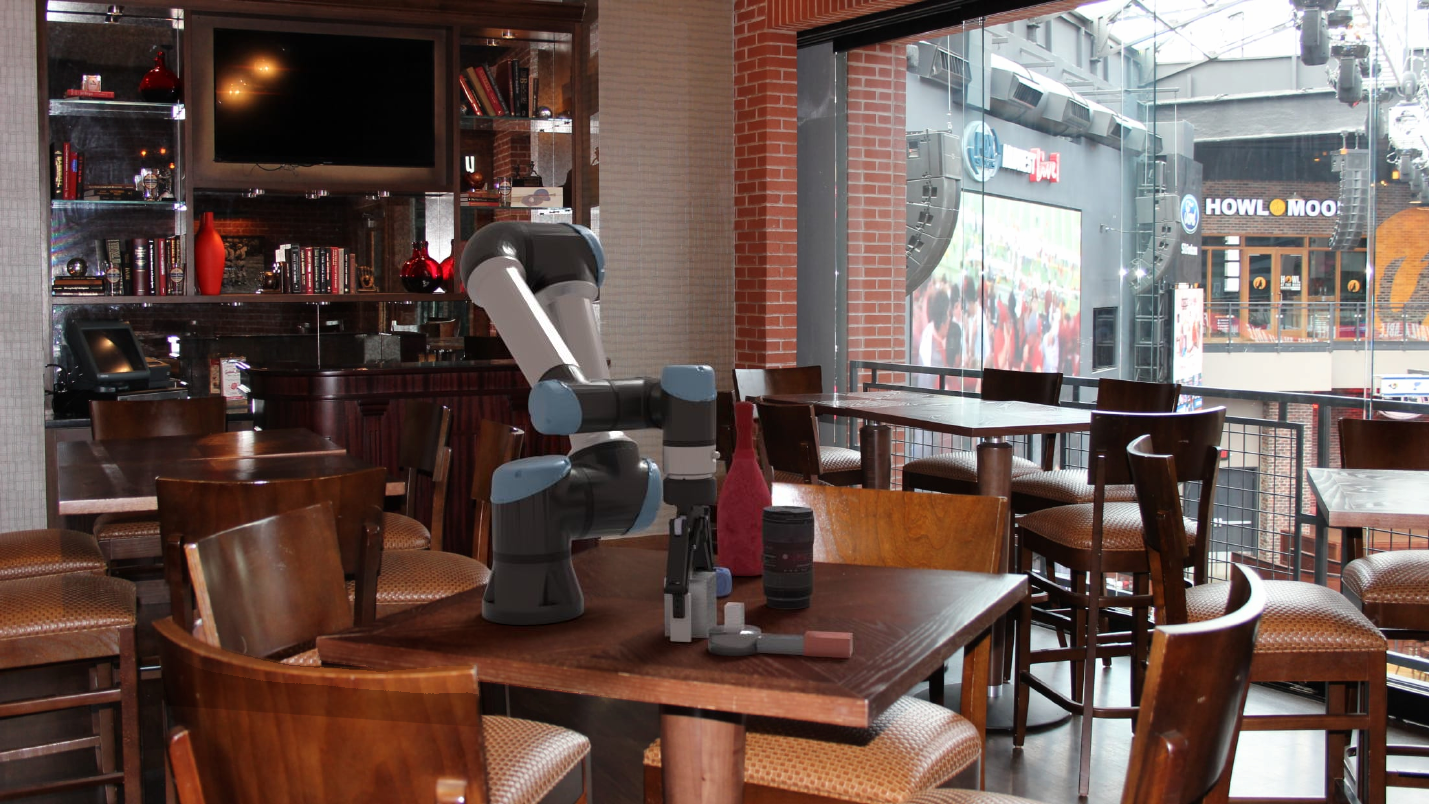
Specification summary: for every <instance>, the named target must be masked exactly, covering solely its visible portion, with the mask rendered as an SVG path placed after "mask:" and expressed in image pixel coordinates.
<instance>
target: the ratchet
mask: <svg viewBox="0 0 1429 804" xmlns="http://www.w3.org/2000/svg"><path fill="white" fill-rule="evenodd" d="M853 635H854V634H853V632H840V631H839V632H837V631H819V630H818V631H817V630H816V631H815V630H807V631H806V632H805V634H787V633H767V632H766V633H765V632H762V629H761V628H760V627H758V626H755V625H750V624H745V603H744V602H729V601H728V602H727V603H726V604H725V605H724V624H721V625H720V624H719V625H717V626H715V627H712V628H710V629H709V630H708V637H707V639H708V646H707V647H708V652H709V653H712V654H714V655H719V656H725V655H727V656H728V657H740V656H741V657H742V656H750V655H754V654H757V653H759V654H774V655H775V654H777V655H778V654H780V655H797V656H798V655H800V656H805V657H817V658H818V657H820V658H822V657H823V658H839V659H840V658H842V659H843V658H844V659H850V658H851V657H852V654H853V653H854V650H853V649H854V645H853V644H854V640H853V638H854V637H853Z"/></svg>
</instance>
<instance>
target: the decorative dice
mask: <svg viewBox="0 0 1429 804" xmlns="http://www.w3.org/2000/svg"><path fill="white" fill-rule="evenodd" d="M714 568H716V597H725V596H729V595H730V593H731V592H732V587H733V583H732V582H733V581H732V575H731V573H730V571H729V569H727V568H721V567H719V566H718V567H715V566H714Z"/></svg>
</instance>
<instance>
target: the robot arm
mask: <svg viewBox="0 0 1429 804" xmlns="http://www.w3.org/2000/svg"><path fill="white" fill-rule="evenodd" d="M605 259H606V258H605V253H604V249H603V247H602V245H601V241H600V239H599V238H598V236H597V235H596V234H595V233H594V232H593V231H592V230H591V229H590V228H588V227H586V226H584V225H581V224H573V223H569V222H564V221H562V222H556V223H555V222H553V223H552V222H535V221H534V222H532V221H514V220H499V221H495V222H494V221H493V222H491V223H489V224H486V225H485V226H483V227H481V228H480V229H479V230H477V231H476V232H475V233H473V235H472V236H470V238H469V240H468V241H467V242H466V243H465V246H464V249H463V251H462V252H461V257H460V261H459V274H460V279H461V283H462V285H463V286H462V287H464V289H465V292H466V294H467V295H468V297H469V298H470V300H471V301H472V302H473V303H474V304H475V305H476V306H478V307H480V308H483V309H484V310H485V313H486V314H487V315H488V318H489V319H490V320H491V322H492V324H493V326H494V328H495V329H496V331H497V332H498V334H499V335H500V338H501V339H502V340H503V342H504V344H505V346H506V347H507V349H508V351H509V353H510V354H511V356H512V357H513V359H514V361H515V363H516V364H517V366H518V367H519V369H520V371H521V373H522V374H523V375H524V377H525V380H527V383H528V384H529V386H530V387H531V390H530V392H529V396H528V403H527V405H528V413H529V414H530V421H531V423H532V426H533V427H534V429H535V430H536V431H537V432H538V433H541V434H543V435H560V436H569V440H570V445H571V449H570V450H569V452H568V454H567V455H563V454H562V455H561V454H547V455H541V456H538V455H537V456H532V457H531V456H530V457H526V458H519V459H516V460H512V461H509V462H506V463H503V464H501V465H500V466H498V467H497V468H496V469H495V470H494V472H493V474H492V478H491V492H490V493H491V494H490V501H491V527H492V528H491V531H492V532H491V533H492V567H491V571H490V573H489V577H488V581H487V584H486V587H485V591H484V595H483V596H482V600H481V614H482V615H481V616H482V618H483V619H485V620H486V621H489V622H492V623H497V624H502V625H504V624H505V625H512V626H513V625H518V626H527V625H528V626H530V625H545V624H554V623H561V622H564V621H565V622H566V621H569V620H573V619H577V618H578V617H580V616H581V615H582V614H584V611H585V604H584V603H585V602H584V595H583V592H582V589H581V586H580V584H579V580H578V577H577V575H576V571H575V569H574V566H573V561H572V541H576V540H585V539H592V538H593V539H594V538H604V537H613V536H620V537H621V536H622V537H623V536H627V535H628V534H634V533H641V532H644V531H645V530H647V529H649V527H651V526H652V524H654V522H655V520H656V518H657V517H658V515H659V512H660V508H661V504H662V500H663V503H664V504H665V505H668V506H675V507H676V515H675V517H674V518H670V519H669V521H668V529H669V530H668V531H669V532H668V535H669V537H668V548H667V560H666V572H665V573H666V575H665V578H666V585H665V588H664V587H663V589H662V591H663V594H670V632H671V636H670V641H671V642H685V643H690V642H692V637H691V593H688V592H689V582H690V575H691V571H699V572H716V568H714V567H715V559H714V550H713V538H712V530H711V529H712V528H711V518H710V517H711V515H710V514H711V508H710V506H709V505H713V504H715V503H716V502H717V500H718V498H717V497H718V494H717V493H718V492H717V491H718V489H717V487H718V486H717V485H718V481H717V478H716V476H713V474H715V473H716V472H717V459H720V457H721V454H720V452H719V451H716V449H717V445H716V444H717V443H716V442H717V396H718V393H717V390H716V375H715V373H716V372H715V370H714V369H713V367H711V366H710V365H707V364H699V365H698V364H673V365H665V367H663V369H662V371H661V378H659V377H653V376H646V375H645V376H634V377H629V378H611V373H610V371H609V366H608V363H607V358H606V354H605V350H604V346H603V343H602V337H601V334H600V331H599V327H598V322H597V319H596V314H595V310H594V306H593V303H594V302H595V300H596V299H597V297H598V295H599V290H600V288H601V286H602V285H603V283H604V279H605V276H606V270H605V269H604V266H606V260H605ZM639 430H641V431H642V430H655V431H656V430H657V431H659V430H660V431H662V433H661V434H662V446H661V447H662V448H661V449H662V450H661V451H662V452H661V453H662V473H663V474H664V475H666V476H665V477H664V479H662V474H661V471H660V469H659V467H658V465H657V464H656V463H655V461H654V460H653V459H651V458H649V457H645V456H641V455H640V450H639V446H638V443H637V441H635V440H634V439H633V438H630V437H628V436H627V435H626V434H625V431H626V432H628V431H639ZM678 583H680V584H678Z"/></svg>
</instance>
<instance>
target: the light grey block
mask: <svg viewBox="0 0 1429 804" xmlns="http://www.w3.org/2000/svg"><path fill="white" fill-rule="evenodd" d="M663 579H664V580H663V582H664V583H663V585H664V587H663V589H664V588H665V585H666V577H665V578H663ZM678 584H680V583H678ZM688 593H691V638H701V639H708V630H709V629H710V628H712V627H715V626H718V623H717V622H718V617H717V612H718V611H717V610H718V609H717V607H718V605H717V597H718V596H717V597H716V572H699V571H693V570H691V575H690V582H689V592H688ZM663 594H664V593H663ZM664 636H665V637H671V632H670V594H664Z"/></svg>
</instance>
